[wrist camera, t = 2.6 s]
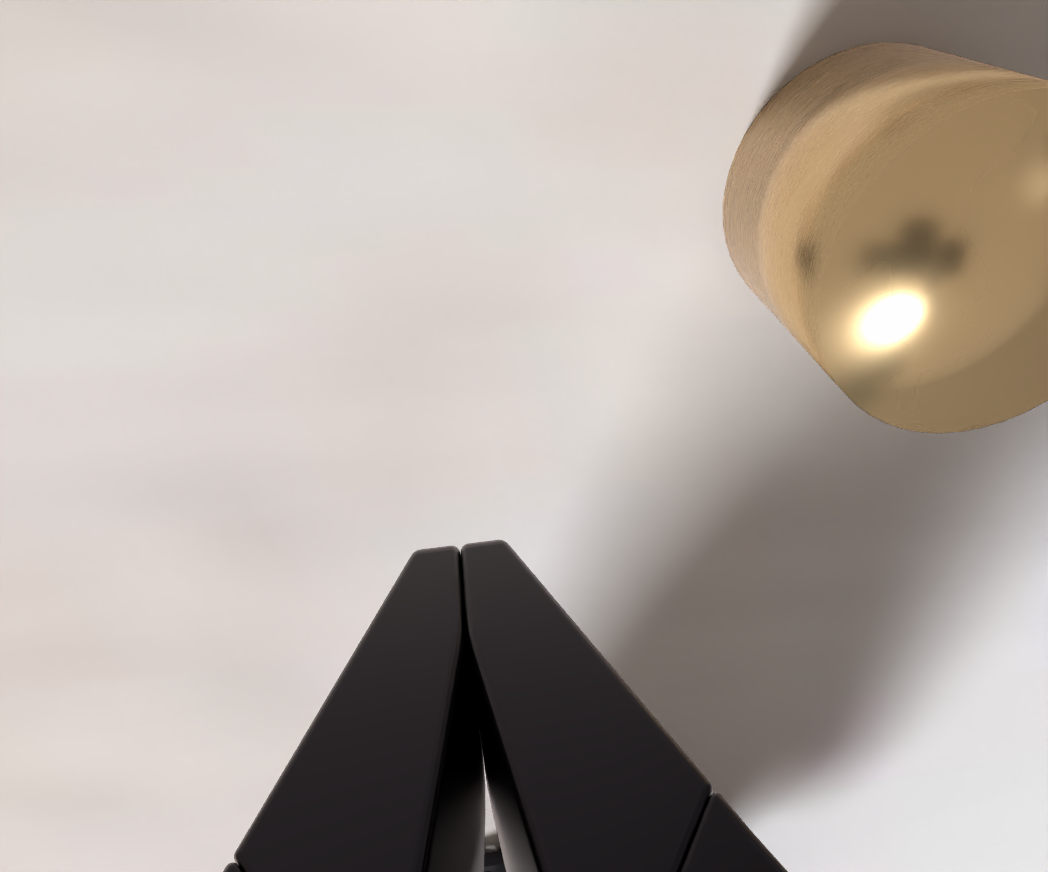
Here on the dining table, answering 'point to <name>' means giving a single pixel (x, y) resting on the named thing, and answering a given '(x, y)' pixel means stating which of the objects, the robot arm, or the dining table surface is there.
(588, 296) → the dining table surface
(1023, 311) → the cylinder
